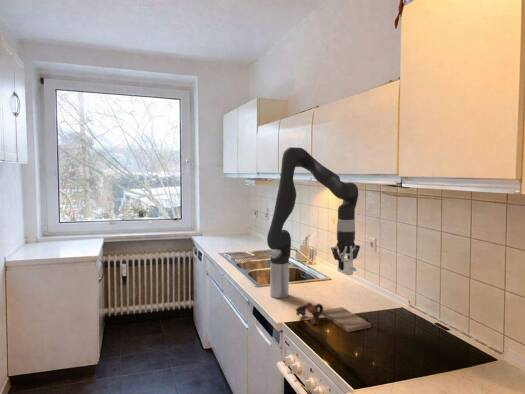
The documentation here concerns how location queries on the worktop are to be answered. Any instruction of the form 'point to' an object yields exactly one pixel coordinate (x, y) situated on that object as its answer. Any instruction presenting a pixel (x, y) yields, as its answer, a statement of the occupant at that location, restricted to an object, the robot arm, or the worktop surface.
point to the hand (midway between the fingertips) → (345, 269)
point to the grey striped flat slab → (345, 319)
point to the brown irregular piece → (311, 311)
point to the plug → (347, 267)
